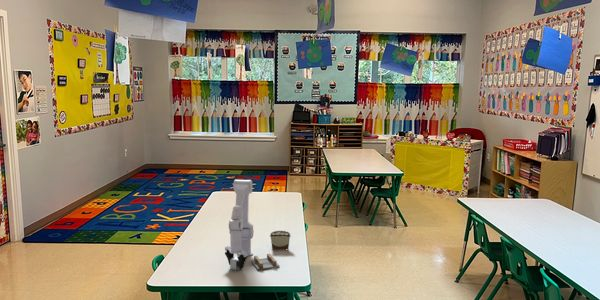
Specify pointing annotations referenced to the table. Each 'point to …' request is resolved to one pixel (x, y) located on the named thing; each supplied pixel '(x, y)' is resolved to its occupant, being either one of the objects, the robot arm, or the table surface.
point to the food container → (280, 240)
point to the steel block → (234, 264)
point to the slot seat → (264, 263)
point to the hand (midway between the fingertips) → (236, 266)
